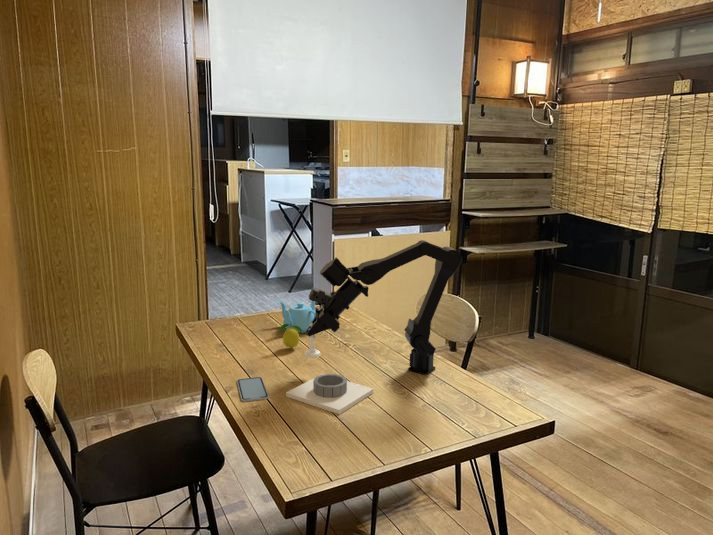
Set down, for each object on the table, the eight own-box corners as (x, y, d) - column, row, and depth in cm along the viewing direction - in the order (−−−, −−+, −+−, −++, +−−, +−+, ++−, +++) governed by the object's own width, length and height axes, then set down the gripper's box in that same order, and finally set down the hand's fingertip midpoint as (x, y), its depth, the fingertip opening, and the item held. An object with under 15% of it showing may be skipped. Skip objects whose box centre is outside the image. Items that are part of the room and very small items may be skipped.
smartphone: (261, 376, 158) (269, 397, 144) (261, 379, 158) (269, 399, 144) (236, 379, 156) (241, 400, 142) (236, 382, 156) (241, 403, 142)
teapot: (321, 334, 199) (322, 307, 197) (281, 336, 196) (281, 309, 194) (316, 322, 213) (316, 297, 211) (278, 324, 210) (278, 299, 208)
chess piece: (312, 350, 163) (311, 319, 161) (324, 354, 160) (323, 322, 158) (300, 355, 159) (300, 323, 157) (312, 359, 156) (312, 326, 154)
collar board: (373, 392, 148) (373, 378, 148) (339, 414, 136) (339, 399, 135) (322, 377, 158) (322, 364, 158) (286, 396, 146) (286, 382, 145)
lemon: (278, 351, 180) (278, 322, 178) (284, 345, 186) (284, 317, 184) (297, 352, 179) (296, 324, 177) (303, 347, 184) (302, 319, 182)
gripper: (322, 271, 164) (287, 307, 165) (327, 285, 146) (287, 325, 147) (347, 295, 167) (313, 330, 168) (355, 312, 149) (316, 351, 150)
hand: (307, 334), depth 158 cm, fingers closed on chess piece
